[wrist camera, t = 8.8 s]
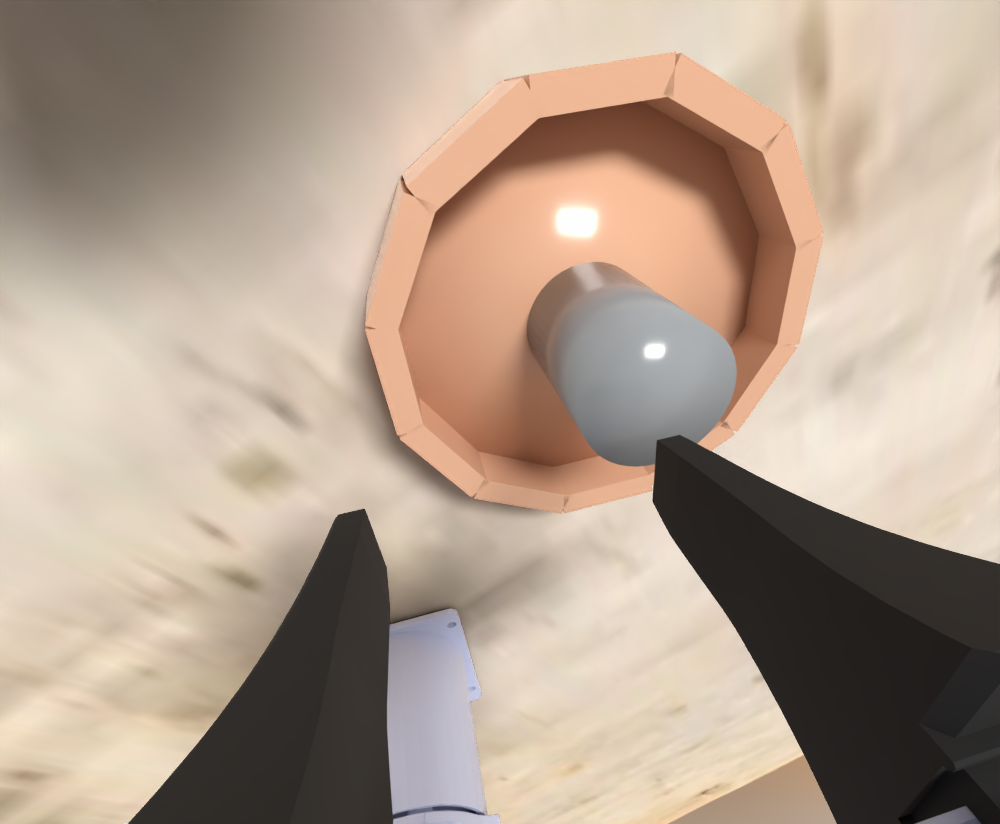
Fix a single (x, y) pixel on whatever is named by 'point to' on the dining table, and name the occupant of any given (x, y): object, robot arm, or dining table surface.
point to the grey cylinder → (628, 362)
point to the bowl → (582, 261)
